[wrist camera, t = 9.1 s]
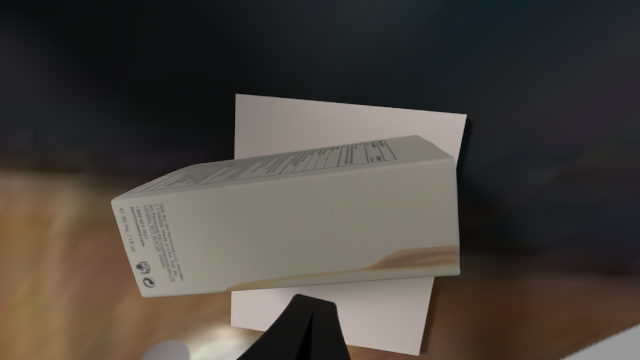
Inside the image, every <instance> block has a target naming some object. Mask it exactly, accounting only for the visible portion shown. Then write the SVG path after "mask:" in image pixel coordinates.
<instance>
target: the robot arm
mask: <svg viewBox="0 0 640 360" xmlns="http://www.w3.org/2000/svg"><path fill="white" fill-rule="evenodd" d="M237 360H351V358H350V355H349V352H348V349H347V346H346V343H345V340H344V337H343V333H342V330H341V326H340V322H339V317H338V312H337V306H336V304H335V303H334V302H331V301H327V300H322V299H318V298H314V297H310V296H306V295H302V294H298V293H297V294H296V295H294V296H293V298H292V299H291V301H290V302H289V304H288V305H287V307H286V308H285V309H284V311H283V312H282V313H281V314H280V316H279V317H278V318H277V319H276V320H275V322H274V323H273V324H272V325H271V326H270V327H269V328H268V329H267V331H266V332H265V333H264V334H263V335H262V336H261V337H260V338H259V339H258V340H257V341H256V342H255V343H254V344H253V345H252V346H251V347H250V348H249V349H248V350H247V351H246V352H244V353H243V354H242V355H241V356H240V357H239V358H238V359H237Z"/></svg>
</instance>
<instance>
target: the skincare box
mask: <svg viewBox="0 0 640 360" xmlns="http://www.w3.org/2000/svg"><path fill="white" fill-rule="evenodd" d="M111 204H112V208H113V211H114V214H115V217H116V220H117V224H118V227H119V230H120V233H121V237H122V240H123V243H124V246H125V249H126V253H127V255H128V259H129V261H130V264H131V267H132V270H133V273H134V275H135V279H136V281H137V284H138V286H139V289H140V292H141V295H142V297H144V298H152V297H164V296H177V295H191V294H205V293H218V292H230V291H245V290H257V289H273V288H287V287H300V286H312V285H326V284H341V283H354V282H365V281H380V280H394V279H408V278H422V277H436V276H455V275H459V274H460V266H459V262H460V261H459V225H458V203H457V179H456V162H455V158H454V157H453V156H451V155H449V154H448V153H446V152H444V151H443V150H441V149H440V148H438V147H437V146H436V145H435V144H434V143H432V142H429V141H427V140H425V139H424V138H422V137H420V136H419V135H410V136H403V137H396V138H388V139H381V140H374V141H366V142H359V143H352V144H344V145H337V146H330V147H323V148H315V149H308V150H300V151H293V152H286V153H278V154H271V155H264V156H256V157H249V158H242V159H234V160H227V161H219V162H212V163H205V164H197V165H192V166H188V167H186V168H183V169H180V170H177V171H175V172H172V173H170V174H167V175H165V176H162V177H160V178H158V179H155V180H153V181H151V182H148V183H146V184H144V185H142V186H139V187H137V188H135V189H133V190H131V191H129V192H127V193H125V194H123V195H121V196H118V197H116V198H114V199H113V200H112V201H111Z"/></svg>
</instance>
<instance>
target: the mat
mask: <svg viewBox="0 0 640 360" xmlns="http://www.w3.org/2000/svg"><path fill="white" fill-rule="evenodd" d="M465 120H466V115H464V114H453V113H442V112H431V111H420V110H408V109H397V108H386V107H375V106H364V105H353V104H342V103H331V102H320V101H309V100H298V99H287V98H276V97H265V96H254V95H243V94H236V113H235V159H242V158H249V157H256V156H264V155H271V154H278V153H286V152H293V151H300V150H308V149H315V148H323V147H330V146H337V145H344V144H352V143H359V142H366V141H374V140H381V139H388V138H396V137H403V136H410V135H419V136H420V137H422V138H424V139H425V140H427V141H429V142H432V143H434V144H435V145H436V146H437V147H438V148H440V149H441V150H443V151H444V152H446V153H448V154H449V155H451V156H453V157H454V158H455V162H456V166H457V161H458V156H459V151H460V146H461V141H462V136H463V130H464V125H465ZM433 281H434V277H422V278H408V279H394V280H380V281H365V282H354V283H341V284H326V285H312V286H300V287H287V288H273V289H257V290H245V291H232V303H231V326H235V327H241V328H248V329H254V330H260V331H267V329H268V328H269V327H270V326H271V325H272V324H273V323H274V322H275V320H276V319H277V318H278V317H279V316H280V314H281V313H282V312H283V311H284V309H285V308H286V307H287V305H288V304H289V302H290V301H291V299H292V298H293V296H294V295H296V294H297V293H298V294H302V295H306V296H310V297H314V298H318V299H322V300H327V301H331V302H334V303H335V304H336V306H337V312H338V317H339V322H340V326H341V330H342V333H343V337H344V340H345V343H346V344H348V345H354V346H361V347H367V348H373V349H380V350H386V351H392V352H398V353H405V354H411V355H417V356H419V351H420V346H421V341H422V336H423V331H424V326H425V321H426V316H427V311H428V306H429V301H430V296H431V291H432V286H433Z"/></svg>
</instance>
